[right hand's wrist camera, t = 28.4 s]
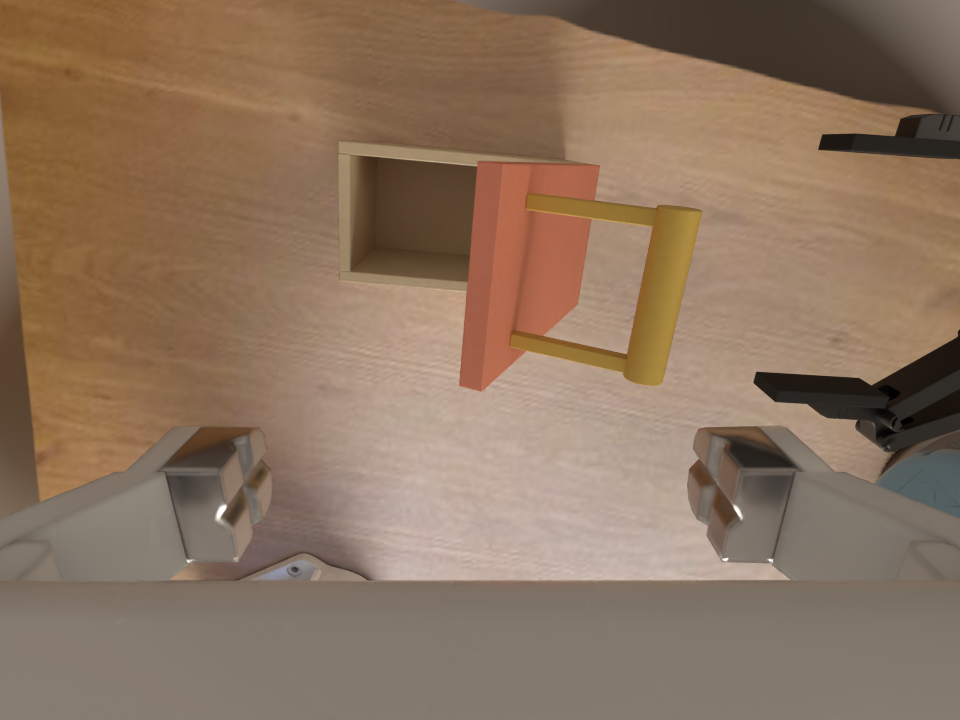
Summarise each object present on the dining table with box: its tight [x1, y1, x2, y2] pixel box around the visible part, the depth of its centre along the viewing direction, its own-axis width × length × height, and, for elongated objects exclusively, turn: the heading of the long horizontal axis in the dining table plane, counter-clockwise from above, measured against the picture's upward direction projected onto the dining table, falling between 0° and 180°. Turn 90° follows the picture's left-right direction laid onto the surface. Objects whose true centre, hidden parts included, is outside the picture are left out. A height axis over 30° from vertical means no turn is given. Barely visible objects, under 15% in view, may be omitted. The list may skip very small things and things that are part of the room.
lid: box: [459, 161, 702, 391], centre depth 29 cm, size 18×10×8 cm
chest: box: [338, 140, 585, 292], centre depth 43 cm, size 17×10×11 cm, turn 85°
